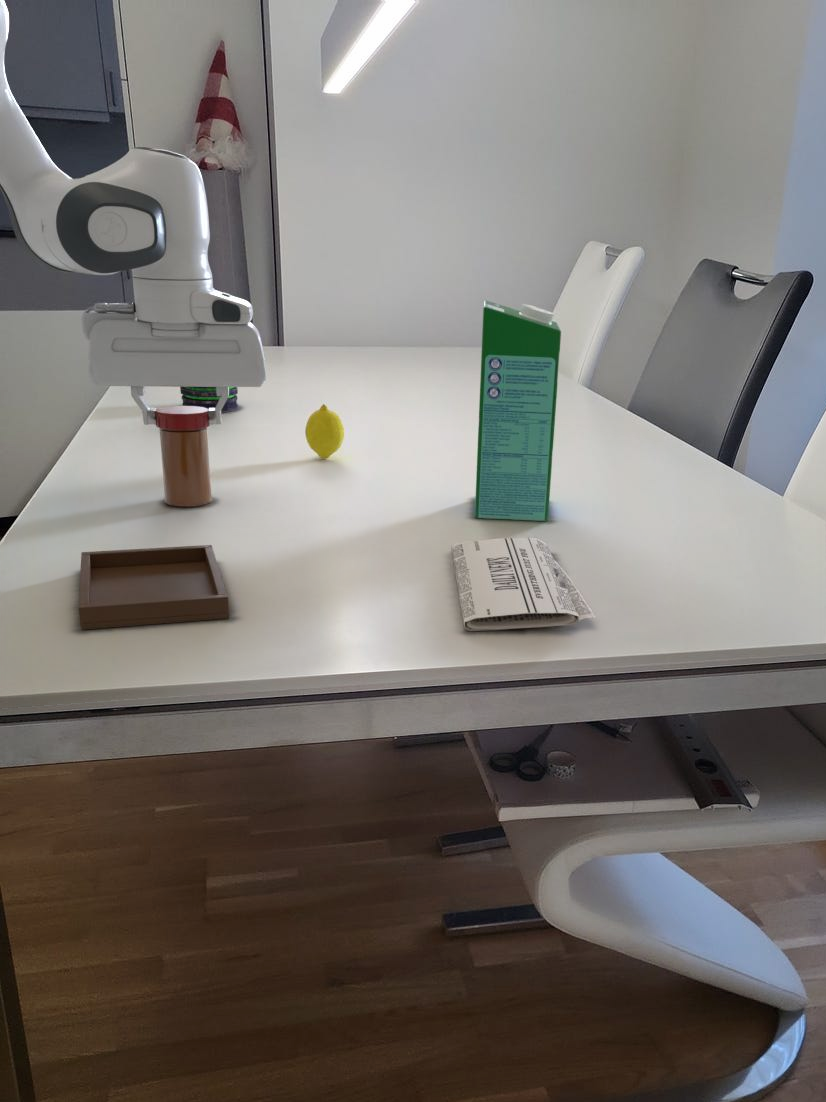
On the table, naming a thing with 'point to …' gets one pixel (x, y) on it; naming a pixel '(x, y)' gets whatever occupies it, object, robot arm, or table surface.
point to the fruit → (324, 432)
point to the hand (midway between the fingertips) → (183, 423)
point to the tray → (150, 587)
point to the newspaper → (514, 586)
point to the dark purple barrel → (208, 397)
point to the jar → (186, 467)
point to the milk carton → (516, 412)
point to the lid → (182, 417)
